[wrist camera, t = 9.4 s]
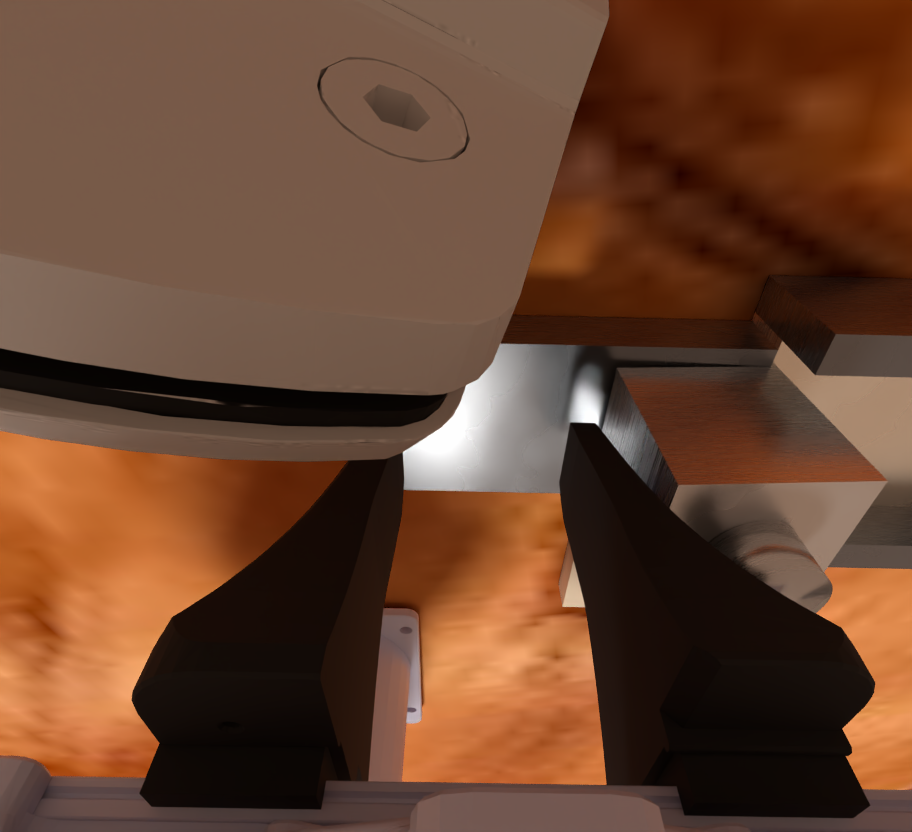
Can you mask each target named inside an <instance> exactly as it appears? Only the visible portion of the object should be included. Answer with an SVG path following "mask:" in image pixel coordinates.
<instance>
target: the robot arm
mask: <svg viewBox="0 0 912 832" xmlns="http://www.w3.org/2000/svg"><path fill="white" fill-rule="evenodd" d="M559 486H560V496H561V504H562V512H563V519H564V524H565V528H566V532H567V536H568V540H569V544H570V548H571V552H572V556H573V560H574V564H575V568H576V572H577V576H578V580H579V584H580V588H581V592H582V596H583V600H584V605H585V610H586V614H587V621H588V628H589V635H590V641H591V648H592V655H593V663H594V671H595V679H596V686H597V694H598V703H599V712H600V721H601V730H602V739H603V749H604V760H605V771H606V781H607V785H562V784H501V783H440V782H402V772H403V759H404V746H405V733H406V723H417V722H419V721H421V719H422V695H421V668H420V641H419V616H418V613H417V612H415V611H414V610H412V609H407V608H384V603H385V596H386V591H387V586H388V581H389V576H390V571H391V566H392V561H393V556H394V551H395V546H396V541H397V536H398V531H399V526H400V521H401V515H402V504H403V491H404V465H403V452H402V453H400V454H397V455H395V456H392V457H389V458H387V459H373V460H348V461H347V463H346V464H345V466H344V467H343V468H342V470H341V471H340V472H339V474H338V475H337V476H336V478H335V479H334V480H333V482H332V483H331V484H330V485H329V486H328V488H327V489H326V490H325V491H324V493H323V494H322V495H321V496H320V497H319V499H318V500H317V501H316V502H315V503H314V504H313V505H312V507H311V508H310V509H309V510H308V511H307V512H306V513H305V514H304V515H303V516H302V517H301V518H300V519H299V520H298V521H297V522H296V523H295V524H294V525H293V526H292V527H291V528H290V529H289V530H288V531H287V532H286V533H285V534H284V535H283V536H282V537H281V538H280V539H279V540H277V541H276V542H275V543H274V544H273V545H272V546H271V547H270V548H269V549H268V550H266V551H265V552H264V553H263V554H262V555H261V556H259V557H258V558H257V559H256V560H254V561H253V562H252V563H251V564H249V565H248V566H247V567H245V568H244V569H243V570H241V571H240V572H239V573H238V574H236V575H235V576H234V577H232V578H231V579H230V580H228V581H227V582H226V583H224V584H223V585H222V586H220V587H219V588H217V589H216V590H214V591H213V592H211V593H210V594H208V595H207V596H205V597H204V598H202V599H200V600H199V601H197V602H196V603H194V604H193V605H191V606H190V607H188V608H186V609H185V610H183V611H182V612H180V613H178V614H177V615H175V616H173V617H172V618H171V620H170V622H169V623H168V625H167V627H166V628H165V630H164V632H163V633H162V635H161V636H160V638H159V639H158V641H157V643H156V645H155V646H154V648H153V650H152V652H151V654H150V656H149V658H148V660H147V662H146V665H145V667H144V669H143V671H142V673H141V675H140V677H139V679H138V681H137V683H136V686H135V688H134V690H133V694H132V702H133V704H134V707H135V709H136V711H137V713H138V715H139V716H140V717H141V719H142V720H143V721H144V723H145V724H146V725H147V727H148V728H149V729H150V731H151V732H152V733H153V735H154V736H155V737H156V739H157V740H158V741H159V743H160V744H159V746H158V749H157V751H156V754H155V756H154V758H153V761H152V763H151V766H150V768H149V771H148V773H147V776H146V778H137V777H76V776H51V775H50V772H49V771H48V770H47V768H46V767H45V766H44V765H42V764H41V763H39V762H38V761H36V760H33V759H30V758H26V757H20V756H0V832H912V790H865V789H862V788H861V786H860V784H859V782H858V780H857V778H856V776H855V774H854V772H853V770H852V768H851V766H850V764H849V762H848V760H847V758H846V756H849V755H850V754H851V753H852V747H851V745H850V743H849V741H848V739H847V737H846V735H845V734H844V732H843V730H842V728H843V727H844V726H845V725H846V724H847V723H848V722H849V721H850V720H851V719H852V718H853V717H854V716H855V715H856V714H858V713H859V712H860V711H861V710H862V709H863V708H864V707H865V706H866V704H867V703H868V701H869V700H870V699H871V697H872V695H873V693H874V688H875V682H874V680H873V678H872V676H871V674H870V673H869V671H868V669H867V667H866V666H865V664H864V662H863V660H862V659H861V657H860V655H859V654H858V652H857V650H856V649H855V647H854V646H853V644H852V643H851V641H850V640H849V638H848V637H847V635H846V634H845V632H844V631H843V630H842V628H841V627H839V626H837V625H835V624H834V623H832V622H830V621H828V620H826V619H825V618H823V617H821V616H819V615H818V614H816V613H814V612H812V611H810V610H809V609H807V608H805V607H803V606H801V605H800V604H798V603H796V602H794V601H793V600H791V599H789V598H788V597H786V596H784V595H783V594H781V593H780V592H778V591H776V590H775V589H773V588H772V587H770V586H769V585H767V584H765V583H764V582H762V581H761V580H759V579H758V578H756V577H755V576H753V575H752V574H750V573H749V572H747V571H746V570H745V569H743V568H742V567H740V566H739V565H738V564H736V563H735V562H733V561H732V560H731V559H729V558H728V557H727V556H725V555H724V554H723V553H721V552H720V551H719V550H717V549H716V548H715V547H713V546H712V545H711V544H710V543H708V542H707V541H706V540H705V539H703V538H702V537H701V536H700V535H699V534H698V533H696V532H695V531H694V530H693V529H692V528H691V527H689V526H688V525H687V524H686V523H685V522H684V521H683V520H681V519H680V518H679V517H678V516H677V515H676V514H675V513H674V512H673V511H672V510H671V509H670V508H669V507H668V506H667V505H666V504H665V503H664V502H663V501H662V500H661V499H660V498H659V497H658V496H657V495H656V494H655V493H654V492H653V491H652V490H651V489H650V488H649V487H648V486H647V484H646V483H645V482H644V481H643V480H642V479H641V478H640V477H639V475H638V474H637V473H636V472H635V471H634V470H633V469H632V467H631V466H630V465H629V464H628V463H627V462H626V460H625V459H624V458H623V457H622V455H621V454H620V453H619V452H618V451H617V449H616V448H615V447H614V446H613V444H612V443H611V442H610V440H609V439H608V438H607V437H606V435H605V434H604V433H603V432H602V430H601V429H600V428H599V427H598V425H597V424H596V423H577V422H570V426H569V432H568V437H567V442H566V448H565V453H564V459H563V464H562V470H561V475H560V480H559Z"/></svg>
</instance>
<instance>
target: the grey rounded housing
mask: <svg viewBox="0 0 912 832" xmlns="http://www.w3.org/2000/svg"><path fill="white" fill-rule="evenodd" d="M608 18H609V0H0V431H5V432H10V433H16V434H21V435H26V436H31V437H36V438H42V439H48V440H55V441H62V442H70V443H77V444H84V445H91V446H98V447H105V448H112V449H119V450H127V451H136V452H147V453H158V454H169V455H180V456H192V457H203V458H214V459H230V460H265V461H299V462H314V461H343V460H373V459H387V458H389V457H392V456H395V455H397V454H400V453H402V452H404V451H405V450H407V449H409V448H410V447H412V446H413V445H415V444H416V443H418V442H420V441H421V440H423V439H424V438H426V437H428V436H429V435H431V434H432V433H434V432H435V431H437V430H439V429H440V428H442V427H443V426H444V425H445V424H446V423H447V422H448V421H449V420H450V419H451V418H452V417H453V415H454V413H455V411H456V410H457V408H458V406H459V404H460V402H461V399H462V396H463V393H464V391H465V388H466V385H468V384H470V383H472V382H474V381H476V380H478V379H479V378H480V376H481V375H482V374H483V373H484V372H485V371H486V370H487V369H488V367H489V366H490V365H491V364H492V363H493V360H494V358H495V355H496V353H497V350H498V348H499V346H500V343H501V341H502V338H503V336H504V333H505V331H506V329H507V326H508V324H509V321H510V319H511V317H512V314H513V312H514V309H515V307H516V304H517V302H518V300H519V297H520V294H521V291H522V288H523V284H524V281H525V278H526V274H527V271H528V268H529V265H530V261H531V258H532V255H533V251H534V248H535V245H536V241H537V238H538V235H539V231H540V228H541V225H542V222H543V218H544V215H545V212H546V208H547V205H548V202H549V198H550V195H551V192H552V189H553V185H554V182H555V179H556V175H557V172H558V169H559V165H560V162H561V159H562V155H563V152H564V149H565V146H566V142H567V139H568V136H569V132H570V129H571V126H572V122H573V119H574V116H575V113H576V110H577V107H578V104H579V101H580V98H581V95H582V92H583V89H584V86H585V84H586V81H587V78H588V75H589V72H590V70H591V67H592V64H593V61H594V58H595V55H596V53H597V50H598V47H599V44H600V41H601V39H602V36H603V33H604V30H605V27H606V25H607V21H608Z"/></svg>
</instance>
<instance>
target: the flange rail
mask: <svg viewBox="0 0 912 832" xmlns="http://www.w3.org/2000/svg"><path fill="white" fill-rule="evenodd" d="M656 367H778V368H779V369H780V370H781V371H782V372H783V373H784V374H785V375H786V376H787V377H788V378H789V379H790V380H791V381H792V382H793V383H794V384H795V385H796V387H797V388H798V389H799V390H800V391H801V392H802V393H803V394H804V395H805V396H806V397H807V398H808V399H809V400H810V401H811V402H812V403H813V404H814V405H815V406H816V407H817V408H818V409H819V410H820V411H821V412H822V413H823V414H824V415H825V417H826V418H827V419H828V420H829V421H830V422H831V423H832V424H833V425H834V426H835V427H836V428H837V429H838V430H839V431H840V432H841V433H842V434H843V435H844V436H845V437H846V438H847V439H848V440H849V441H850V442H851V443H852V444H853V445H854V446H855V448H856V449H857V450H858V451H859V452H860V453H861V454H862V455H863V456H864V457H865V458H866V459H867V460H868V461H869V462H870V463H871V464H872V465H873V466H874V467H875V468H876V469H877V470H878V471H879V472H880V473H881V474H882V475H883V476H884V477H885V479H886V480H887V481H888V482H887V483H886V484H885V486H884V487H883V489H882V490H881V492H880V493H879V494H878V496H877V497H876V499H875V500H874V502H873V503H872V504H871V506H870V507H869V509H868V510H867V512H866V513H865V514H864V516H863V517H862V519H861V520H860V522H859V523H858V524H857V526H856V527H855V529H854V530H853V532H852V533H851V534H850V536H849V537H848V539H847V540H846V542H845V543H844V544H843V546H842V547H841V549H840V550H839V552H838V553H837V554H836V556H835V557H834V559H833V560H832V562H831V563H830V564H829V566H828V567H847V568H895V569H912V279H901V278H859V277H817V276H775V275H769V278H768V280H767V283H766V286H765V288H764V291H763V293H762V296H761V298H760V301H759V303H758V306H757V309H756V311H755V314H754V316H753V319H752V321H740V320H697V319H654V318H611V317H567V316H524V315H512V317H511V319H510V321H509V324H508V326H507V329H506V331H505V333H504V336H503V338H502V341H501V343H500V346H499V348H498V350H497V353H496V355H495V358H494V360H493V363H492V364H491V365H490V366H489V367H488V369H487V370H486V371H485V372H484V373H483V374H482V375H481V376H480V378H479V379H478V380H476V381H474V382H472V383H470V384H468V385H466V388H465V391H464V393H463V396H462V399H461V402H460V404H459V406H458V408H457V410H456V411H455V413H454V415H453V417H452V418H451V419H450V420H449V421H448V422H447V423H446V424H445V425H444V426H443V427H442V428H440V429H439V430H437V431H435V432H434V433H432V434H431V435H429V436H428V437H426V438H424V439H423V440H421V441H420V442H418V443H416V444H415V445H413V446H412V447H410V448H409V449H407V450H405V451H404V452H403V465H404V490H430V491H477V492H523V493H560V486H559V480H560V475H561V470H562V464H563V459H564V453H565V448H566V442H567V437H568V432H569V426H570V422H577V423H596V424H597V425H598V427H599V428H600V429H601V430H602V428H603V424H604V420H605V416H606V411H607V407H608V403H609V399H610V394H611V390H612V386H613V382H614V377H615V373H616V369H617V368H656Z"/></svg>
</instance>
